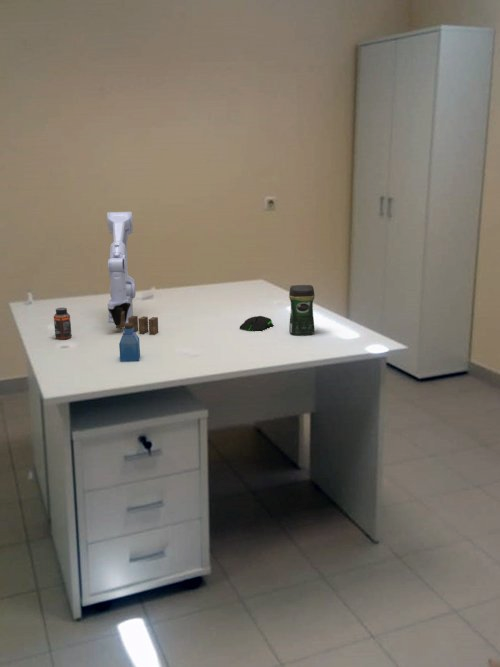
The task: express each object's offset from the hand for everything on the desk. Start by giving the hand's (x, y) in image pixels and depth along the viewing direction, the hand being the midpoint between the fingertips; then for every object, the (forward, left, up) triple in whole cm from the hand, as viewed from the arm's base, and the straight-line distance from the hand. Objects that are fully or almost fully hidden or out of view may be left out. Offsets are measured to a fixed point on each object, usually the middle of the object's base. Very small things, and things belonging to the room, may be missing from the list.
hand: (120, 323), depth 277 cm
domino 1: (+5, 0, -3) cm, 6 cm away
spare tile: (0, 0, -2) cm, 2 cm away
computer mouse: (+49, +21, -4) cm, 54 cm away
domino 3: (+14, 0, -3) cm, 14 cm away
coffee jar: (+68, +16, -3) cm, 70 cm away
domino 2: (+10, 0, -3) cm, 10 cm away
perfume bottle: (+20, -32, -3) cm, 38 cm away
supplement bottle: (-16, -15, -3) cm, 22 cm away
